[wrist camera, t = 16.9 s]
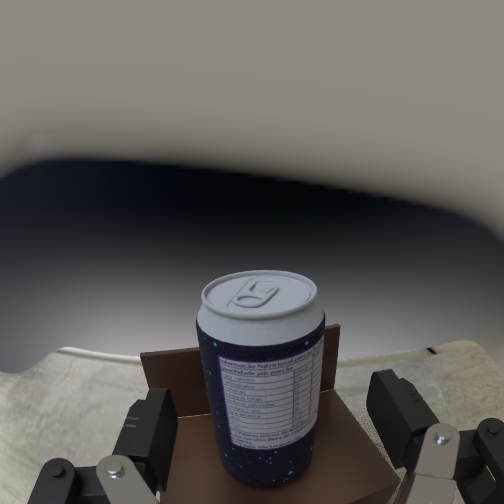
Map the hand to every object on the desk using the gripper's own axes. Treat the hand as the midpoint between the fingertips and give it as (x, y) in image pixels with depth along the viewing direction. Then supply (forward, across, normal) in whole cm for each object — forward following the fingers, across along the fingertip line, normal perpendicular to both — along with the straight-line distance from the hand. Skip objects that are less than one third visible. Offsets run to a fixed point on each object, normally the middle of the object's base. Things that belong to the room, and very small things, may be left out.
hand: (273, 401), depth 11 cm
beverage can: (+3, 0, +9) cm, 9 cm away
